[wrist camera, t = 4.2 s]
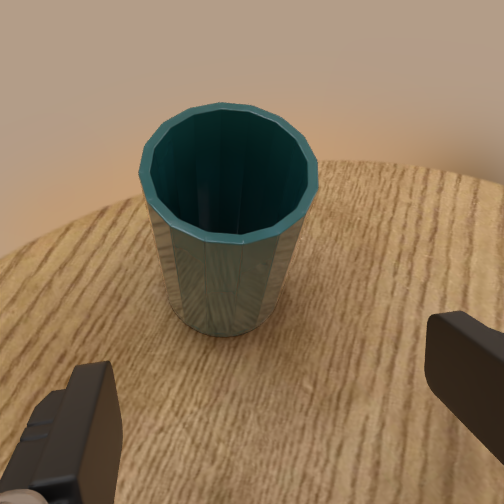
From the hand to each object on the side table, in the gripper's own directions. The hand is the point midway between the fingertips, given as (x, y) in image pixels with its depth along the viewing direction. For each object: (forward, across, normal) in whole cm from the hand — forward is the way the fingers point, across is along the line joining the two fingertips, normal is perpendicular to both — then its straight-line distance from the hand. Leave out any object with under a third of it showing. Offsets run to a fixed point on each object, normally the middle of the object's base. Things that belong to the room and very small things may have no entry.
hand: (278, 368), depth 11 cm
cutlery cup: (+14, 0, +3) cm, 14 cm away
